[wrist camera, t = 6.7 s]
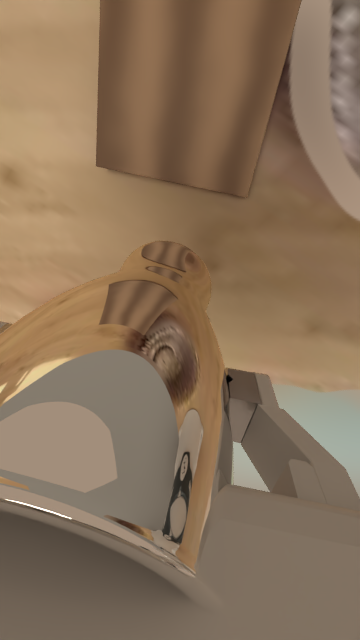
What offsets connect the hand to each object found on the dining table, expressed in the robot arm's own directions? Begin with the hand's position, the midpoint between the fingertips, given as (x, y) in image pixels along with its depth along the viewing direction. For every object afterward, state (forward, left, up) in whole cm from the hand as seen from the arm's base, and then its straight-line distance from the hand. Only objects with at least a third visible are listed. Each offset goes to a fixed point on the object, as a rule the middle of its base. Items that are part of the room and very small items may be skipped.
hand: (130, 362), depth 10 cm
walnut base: (+2, -14, -26) cm, 29 cm away
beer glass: (0, 0, -9) cm, 9 cm away
